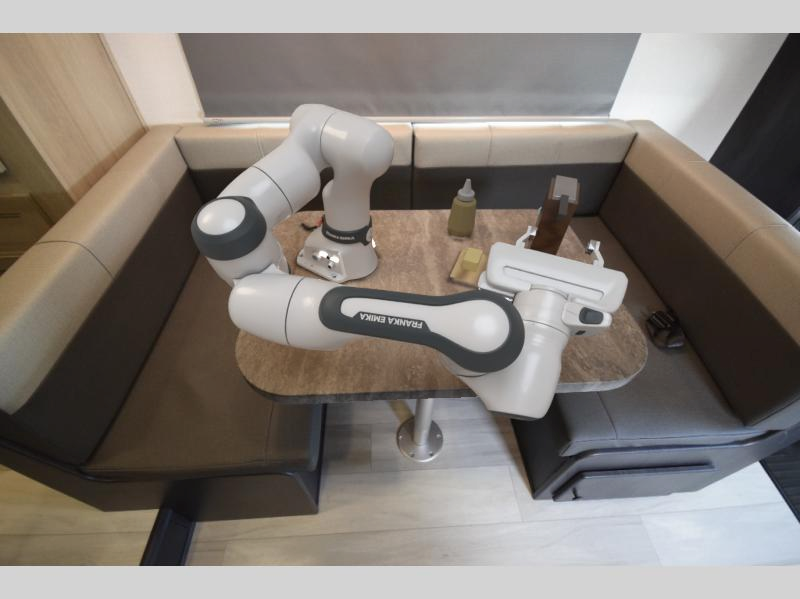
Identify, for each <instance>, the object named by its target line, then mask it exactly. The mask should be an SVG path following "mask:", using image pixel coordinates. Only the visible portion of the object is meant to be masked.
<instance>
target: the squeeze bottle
mask: <svg viewBox="0 0 800 599" xmlns="http://www.w3.org/2000/svg"><path fill="white" fill-rule="evenodd" d="M475 195H476V193H475V191H474V190H473V189H472V180H471V179H470V178H466V180H465V182H464V184H463V187H462V188H460V189H459V190H458V191H457V195H456V196H455V197H454V198H453V200H452V204H451V209H450V212H449V216H448V219H447V227H448V231H449V233H450V235H452V236H454V237H457V238H465V237H466V238H467V237H468V236H469V235H471V234H472V232H473V230H474V229H475V224H476V214H477V200H476V198H475Z"/></svg>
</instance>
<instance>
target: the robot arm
mask: <svg viewBox="0 0 800 599" xmlns="http://www.w3.org/2000/svg"><path fill="white" fill-rule="evenodd" d="M288 127H289V129H288V130H289V132H288V134H287V136H286V137H285V139H284V140H283V141H282V142H281V143H280V144H279V145H278V146H277V147H276V148H274V149H272V150H271V151H270V152H269V153H268V154H266V155H265V156H263V157H262V158H261V159H259V160H257V161H256V162H255V163H254V164H253V165H251V166H250V167H248V168H246V170H244V171H243V172H241V173H240V174H239V175H238V176H237V177H236V178H234V179H233V180H232V181H231V182H230V183H229V184H228V185H227V186H226V187H225V188H224V189H223V190H222V191H221V192H220V194H219V195H217V197H216V198H214V199H211V200H210V201H208V202H206V203H205V204H203V205H202V206H201V207H200V208H199V209H198V211H197V212H196V214H195V215H194V217H193V219H192V222H191V225H190V232H191V236H192V238H193V241H194V243H195V246H196V247H197V249H198V250H199V252H200V253H201V254H202V255H203V256H204V257H205V258H206V259H207V261H208V263H209V264H210V266H211V268H213V270H214V271H215V273H216V274H217V275H218V277H220V278H221V279H222V280H223V281H224V282H226V283H227V284H228V286H230V288H232V290H231V291H230V294H229V297H228V302H227V303H228V304H227V306H228V307H227V308H228V315H229V318H230V320H231V322H232V323H233V324H234V326H236V327H237V329H239V330H241V331H243V332H245V333H248V334H250V335H252V336H255V337H258V338H260V339H262V340H264V341H268V342H271V343H275V344H279V345H283V346H287V347H292V348H297V349H301V350H309V351H327V352H329V351H331V352H332V351H338V350H341V349H343V348H345V347H346V346H347V345H348V344H349V343H351V342H353V341H356V340H361V339H374V340H375V339H376V340H382V341H388V342H395V343H399V344H407V345H412V346H419V347H424V348H429V349H432V350H434V351H435V354H436V357H437V359H438V361H439V362H440V365H442V367H444V369H445V370H447V371H448V372H449V373H451V374H452V375H453V376H455V377H456V378H458V379H459V380H460V381H462V383H464V384H465V385H466V386H467V387H469V388H470V389H471V390H472V391H473V392H474V393H475V395H477V396H478V398H479V399H480V400H481V402H482V403H483V404H484V406H485V408H486V409H487V411H488V412H490V413H491V414H492V415H496V416H498V417H502V418H508V419H513V420H520V421H526V422H533V421H539V420H540V419H543V418H544V417H545V416H546V414H547V413H548V411H549V409H550V407H551V405H552V402H553V400H554V396H555V394H556V390H557V388H558V384H559V381H560V377H561V373H562V368H563V367H562V366H563V365H562V355H563V352H564V350H565V348H566V346H567V345H568V343H569V339H570V338H571V337H574V338H575V337H576V338H591V337H595V336H597V335H599V334H601V333H603V332H605V331H606V330H607V329H608V328H609V327H610V326H611V324H612V320H613V317H612V314H614V313H615V312H617V311H618V310H619V308H620V307H621V305H622V303H623V300H624V298H625V295H626V292H627V288H628V284H629V279H628V277H627V275H626V274H625V273H624V271H619V270H615V269H611V268H607V267H604V264H605V261H604V258H603V256H602V254H601V252H600V247H601V241H598V240H594V239H589V240H588V241H587V243H586V246H585V250H584V254H586V255H589V257H590V260H591V262H592V263H587V262H583V261H579V260H575V259H571V258H567V257H562V256H559V255H556V256H555V255H551V254H547V253H543V252H539V251H535V250H531V249H527V248H528V247H527V248H526V247H525V246H526V243H527V242H528V241H530V240H531V241H533V240H534V238H535V235H536V231H537V229H538V227H535V226H534V225H528V226H527V228H526V231H525V233H524V234H523V235H522V236H520V237H519V238H518V239H516V242H515V245H514V244H510V243H507V242H503V241H497V242H495V243H493V244H492V245H490V250H489V253H488V256H489V257H488V261H487V267H486V270H485V271H483V272H482V273H481V274H480V276H479V279H478V283H477V284H476V288H477V289H471V290H466V291H460V292H456V293H453V294H446V295H428V294H420V293H412V292H403V291H395V290H387V289H377V288H370V287H359V286H358V287H357V286H353V285H347V284H342V283H345V282H347V281H351V280H352V281H353V280H357V279H362V278H366V277H367V276H369V275H370V274H372V273H373V272H374V271H375V270H376V269H377V268H378V265H379V258H378V255H377V253H376V250H375V247H376V244H375V241H374V239H373V236H374V228H373V217H372V215H371V189H372V186H373V184H374V181H375V180H376V179H377V178H381V176H383V175H384V174H385V173H386V172H387V171H388V170H389V168H390V167H391V165H392V163H393V161H394V160H393V159H394V156H395V142H394V138H393V136H392V134H391V133H390V132H389V130H387V129H386V128H385V127H383V126H381V125H380V124H379V123H377V122H375V121H374V120H372V119H370V118H367V117H364V116H361V115H357V114H355V113H352V112H349V111H345V110H342V109H339V108H336V107H333V106H329V105H327V104H323V103H304V104H303V103H302V104H300V105H299V106H297V107H296V108H295V110H293V112H292V114H291V117H290V120H289V125H288ZM328 167H329V168H330V167H331V168H332V171H333V179H331V180H330V181H328V182H327V183H326V184H325V186H324V187H323V189H322V194H321V197H322V203H323V210H324V214H323V215H322V216H321V218H320V219H319V220H318V221H317V222H316V225H314V226H307V225H306V224H305V223H304V222H301V224H300V225H301V226H302V227H303V228H304V229H305V230H307V231H308V230H309V231H311V230H313V231H311V233H310V234H308V236H307V237H306V239H305V241H304V245H303V247H302V249H301V250H300V251H299V253H298V255H297V258H296V264H297V265H298V266H300V267H302V268H304V269H306V270H308V271H310V272H312V273H314V274H316V275H318V276H320V277H322V278H324V279H320V278H315V277H309V276H303V275H297V274H293V273H292V269H291V267H290V264H289V263H288V261H287V259H286V255H285V253H284V249H283V248H282V246H281V243H280V241H279V240H278V238H276V236H275V234H274V233H273V232H274V230H275V228H277V227H278V226H280V225H281V224H283V223H284V222H286V221H287V220H288V219H290V218H291V217H292V216H293V215H295V214H296V213H297V212H299V210H301V209H302V208H303V207H304V206H306V205H307V204H308V203H309V202H311V201H312V200H313V199H314V198H316V197H317V195H318V194H319V192H320V190H321V176H320V174H321V172H322V171H323V170H324V169H326V168H328Z"/></svg>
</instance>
